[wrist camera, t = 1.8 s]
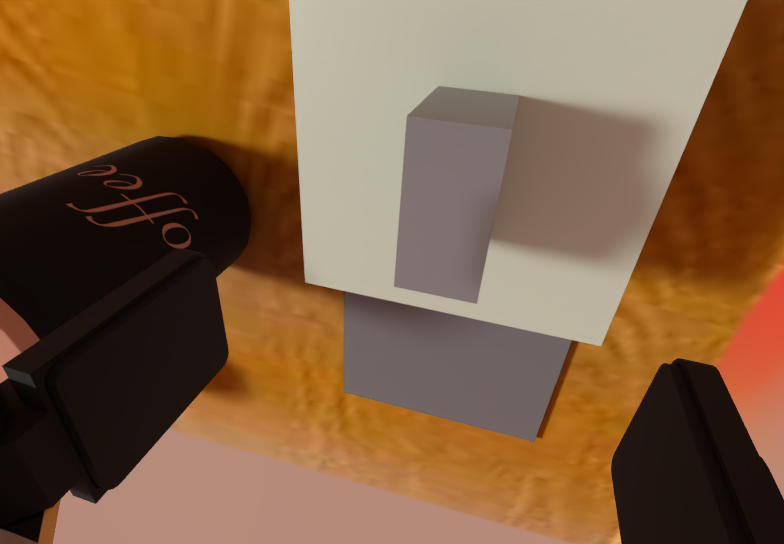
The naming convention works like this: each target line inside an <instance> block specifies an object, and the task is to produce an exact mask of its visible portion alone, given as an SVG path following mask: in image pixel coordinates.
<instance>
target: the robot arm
mask: <svg viewBox="0 0 784 544" xmlns="http://www.w3.org/2000/svg"><path fill="white" fill-rule="evenodd" d="M228 353H229V352H228V344H227V339H226V333H225V327H224V322H223V316H222V310H221V305H220V299H219V293H218V287H217V282H216V276H215V270H214V266H213V264H212V262H210V261H209V260H208V257H207V256H206V255H205V254H203V253H200V252H196V251H191V250H187V249H182V248H178V249H176V250H173V251H172V252H170V253H169V254H168V255H166V256H165V257H163V258H162V259H160V260H159V261H157V262H156V263H154V264H153V265H151V266H150V267H148V268H147V269H145V270H144V271H142V272H141V273H139V274H138V275H136V276H135V277H133V278H132V279H130V280H129V281H127V282H126V283H124V284H123V285H121V286H120V287H118V288H117V289H115V290H114V291H112V292H111V293H109V294H108V295H106V296H105V297H103V298H102V299H100V300H99V301H98V302H96V303H95V304H93V305H92V306H90V307H89V308H87V309H86V310H84V311H83V312H81V313H80V314H78V315H77V316H75V317H74V318H72V319H71V320H69V321H68V322H66V323H65V324H63V325H62V326H60V327H59V328H57V329H56V330H54V331H53V332H51V333H50V334H48V335H47V336H45V337H44V338H42V339H41V340H39V341H38V342H36V343H35V344H33V345H32V346H31V347H29V348H28V349H26V350H25V351H23V352H22V353H20V354H19V355H17V356H16V357H14V358H13V359H11V360H10V361H8V362H7V363H5V364H4V365H2V367H3V369H4V371H5V373H6V374H7V376H8V378H7V379H6V380H4V381H3V382H2V383H0V544H53V538H54V533H55V527H56V521H57V516H58V510H59V504H60V499H61V498H62V497H63V496H64V495H65V494H66V493H67V492H68V491H69V490H70V491H71V493H72V494H73V496H76V497H79V498H82V499H84V500H87V501H90V502H92V503H97V502H98V501H99V500H100V498H101V497H102V496H103V495H104V494H105V493H106V492H107V491H108V490H110V489H114V488H115V487H117V486H118V485H119V484H120V483H121V482H122V481H123V480H124V479H125V478H126V476H127V475H128V474H129V473H130V472H131V471H132V470H133V469H134V467H135V466H136V465H137V464H138V463H139V462H140V460H141V459H142V458H143V457H144V456H145V455H146V454H147V453H148V451H149V450H150V449H151V448H152V447H153V446H154V444H155V443H156V442H157V441H158V440H159V439H160V438H161V437H162V435H163V434H164V433H165V432H166V431H167V430H168V429H169V428H170V426H171V425H172V424H173V423H174V422H175V421H176V420H177V418H178V417H179V416H180V415H181V414H182V413H183V412H184V410H185V409H186V408H187V407H188V406H189V405H190V404H191V402H192V401H193V400H194V399H195V398H196V397H197V396H198V395H199V393H200V392H201V391H202V390H203V389H204V388H205V387H206V385H207V384H208V383H209V382H210V381H211V380H212V379H213V377H214V376H215V375H216V374H217V373H218V372H219V371H220V369H221V368H222V367H223V366H224V365H225V363H226V361H227V358H228ZM611 473H612V481H613V488H614V494H615V501H616V508H617V515H618V522H619V529H620V536H621V543H622V544H784V499H783V497H782V495H781V493H780V491H779V489H778V487H777V485H776V482H775V480H774V478H773V476H772V474H771V472H770V470H769V468H768V467H767V465H766V463H765V462H764V460H763V459H762V458H761V457H760V456H759V454H758V452H757V450H756V448H755V446H754V444H753V442H752V440H751V438H750V436H749V433H748V431H747V429H746V427H745V426H744V423H743V421H742V419H741V417H740V415H739V413H738V411H737V408H736V406H735V404H734V402H733V400H732V398H731V396H730V394H729V391H728V389H727V387H726V385H725V383H724V381H723V379H722V377H721V375H720V373H719V371H718V369H717V368H716V367H714V366H712V365H708V364H703V363H699V362H694V361H690V360H685V359H681V358H679V359H676V360H674V361H673V362H672V364H667V363H664V364H662V365H661V366H660V368H659V369H658V371H657V373H656V375H655V377H654V379H653V381H652V383H651V385H650V387H649V388H648V390H647V392H646V394H645V396H644V398H643V400H642V402H641V404H640V406H639V407H638V409H637V411H636V413H635V415H634V417H633V419H632V421H631V423H630V425H629V426H628V428H627V430H626V432H625V434H624V436H623V438H622V440H621V442H620V444H619V445H618V447H617V449H616V451H615V453H614V456H613V459H612V465H611Z"/></svg>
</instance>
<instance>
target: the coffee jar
mask: <svg viewBox="0 0 784 544" xmlns="http://www.w3.org/2000/svg"><path fill="white" fill-rule="evenodd" d="M250 219H251V217H250V211H249V205H248V199H247V197H246V195H245V193H244V191H243V188H242V186H241V184H240V182H239V180H238V179H237V178H236V177H235V175H234V174H233V173H232V171H231V170H230V169H229V168H228V166H227V165H226V164H225V163H224V162H222V161H221V160H220V159H219V158H218V157H216V156H215V155H214V154H213V153H211V152H210V151H209V150H206V149H204V148H202V147H200V146H198V145H195V144H193V143H191V142H189V141H187V140H184V139H180V138H172V137H163V136H157V137H153V138H150V139H147V140H143V141H140V142H137V143H135V144H132V145H129V146H127V147H124V148H121V149H119V150H116V151H114V152H111V153H108V154H106V155H103V156H100V157H98V158H95V159H92V160H90V161H87V162H84V163H82V164H79V165H76V166H74V167H71V168H68V169H66V170H63V171H60V172H58V173H55V174H52V175H50V176H47V177H44V178H42V179H39V180H36V181H34V182H31V183H28V184H26V185H23V186H21V187H18V188H15V189H13V190H10V191H7V192H5V193H2V194H0V383H2V382H3V381H4V380H6V379H7V378H8V376H7V374H6V373H5V371H4V369H3V367H2V365H4V364H5V363H7V362H8V361H10V360H11V359H13V358H14V357H16V356H17V355H19V354H20V353H22V352H23V351H25V350H26V349H28V348H29V347H31V346H32V345H33V344H35V343H36V342H38V341H39V340H41V339H42V338H44V337H45V336H47V335H48V334H50V333H51V332H53V331H54V330H56V329H57V328H59V327H60V326H62V325H63V324H65V323H66V322H68V321H69V320H71V319H72V318H74V317H75V316H77V315H78V314H80V313H81V312H83V311H84V310H86V309H87V308H89V307H90V306H92V305H93V304H95V303H96V302H98V301H99V300H100V299H102V298H103V297H105V296H106V295H108V294H109V293H111V292H112V291H114V290H115V289H117V288H118V287H120V286H121V285H123V284H124V283H126V282H127V281H129V280H130V279H132V278H133V277H135V276H136V275H138V274H139V273H141V272H142V271H144V270H145V269H147V268H148V267H150V266H151V265H153V264H154V263H156V262H157V261H159V260H160V259H162V258H163V257H165V256H166V255H168V254H169V253H170V252H172V251H173V250H176V249H178V248H182V249H187V250H191V251H196V252H200V253H203V254H205V255H206V256H207V257H208V260H209V261H210V262H212V264H213V266H214V270H215V276H216V277H217V276H219V275H220V274H221V273H222V272H223V271H224V270H225V269H226V268H228V267H229V266H230V265H231V264H232V263H233V262H234V261H235V260H237V259H238V258H239V256H240V255H241V253H242V252H243V250H244V248H245V247H246V245H247V243H248V238H249V232H250V226H251V222H250Z"/></svg>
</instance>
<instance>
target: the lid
mask: <svg viewBox="0 0 784 544" xmlns="http://www.w3.org/2000/svg"><path fill="white" fill-rule="evenodd" d="M746 2H747V0H289V8H290V25H291V43H292V61H293V78H294V96H295V114H296V131H297V149H298V167H299V184H300V202H301V220H302V237H303V255H304V273H305V283H310V284H314V285H319V286H324V287H328V288H333V289H338V290H342V291H347V292H351V293H356V294H361V295H365V296H370V297H375V298H379V299H384V300H389V301H393V302H398V303H403V304H407V305H412V306H416V307H421V308H426V309H430V310H435V311H440V312H444V313H449V314H454V315H458V316H463V317H468V318H472V319H477V320H481V321H486V322H491V323H495V324H500V325H505V326H509V327H514V328H519V329H523V330H528V331H533V332H537V333H542V334H546V335H551V336H556V337H560V338H565V339H570V340H574V341H579V342H584V343H588V344H593V345H598V346H601V345H602V343H603V340H604V338H605V335H606V333H607V331H608V328H609V326H610V324H611V321H612V319H613V317H614V314H615V312H616V309H617V307H618V305H619V302H620V300H621V298H622V295H623V293H624V291H625V288H626V286H627V283H628V281H629V279H630V276H631V274H632V272H633V269H634V267H635V265H636V262H637V260H638V258H639V255H640V253H641V250H642V248H643V246H644V243H645V241H646V239H647V236H648V234H649V232H650V229H651V227H652V224H653V222H654V220H655V217H656V215H657V213H658V210H659V208H660V206H661V203H662V201H663V198H664V196H665V194H666V191H667V189H668V187H669V184H670V182H671V180H672V177H673V175H674V172H675V170H676V168H677V165H678V163H679V161H680V158H681V156H682V154H683V151H684V149H685V146H686V144H687V142H688V139H689V137H690V135H691V132H692V130H693V128H694V125H695V123H696V120H697V118H698V116H699V113H700V111H701V109H702V106H703V104H704V102H705V99H706V97H707V95H708V92H709V90H710V87H711V85H712V83H713V80H714V78H715V76H716V73H717V71H718V69H719V66H720V64H721V61H722V59H723V57H724V54H725V52H726V50H727V47H728V45H729V43H730V40H731V38H732V35H733V33H734V31H735V28H736V26H737V24H738V21H739V19H740V17H741V14H742V12H743V9H744V7H745V5H746Z"/></svg>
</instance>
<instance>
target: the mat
mask: <svg viewBox="0 0 784 544" xmlns="http://www.w3.org/2000/svg"><path fill="white" fill-rule="evenodd" d="M571 342H572V340H570V339H565V338H560V337H556V336H551V335H546V334H542V333H537V332H533V331H528V330H523V329H519V328H514V327H509V326H505V325H500V324H495V323H491V322H486V321H481V320H477V319H472V318H468V317H463V316H458V315H454V314H449V313H444V312H440V311H435V310H430V309H426V308H421V307H416V306H412V305H407V304H403V303H398V302H393V301H389V300H384V299H379V298H375V297H370V296H365V295H361V294H356V293H351V292H347V291H344V392H345V393H349V394H353V395H357V396H361V397H364V398H368V399H372V400H376V401H380V402H383V403H387V404H391V405H395V406H399V407H403V408H406V409H410V410H414V411H418V412H422V413H425V414H429V415H433V416H437V417H441V418H445V419H448V420H452V421H456V422H460V423H464V424H467V425H471V426H475V427H479V428H483V429H487V430H490V431H494V432H498V433H502V434H506V435H509V436H513V437H517V438H521V439H525V440H529V441H532V442H534V441H535V438H536V436H537V433H538V430H539V428H540V425H541V422H542V420H543V417H544V414H545V412H546V409H547V406H548V404H549V401H550V398H551V396H552V393H553V390H554V387H555V385H556V382H557V379H558V377H559V374H560V371H561V369H562V366H563V363H564V361H565V358H566V355H567V353H568V350H569V347H570V344H571Z"/></svg>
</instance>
